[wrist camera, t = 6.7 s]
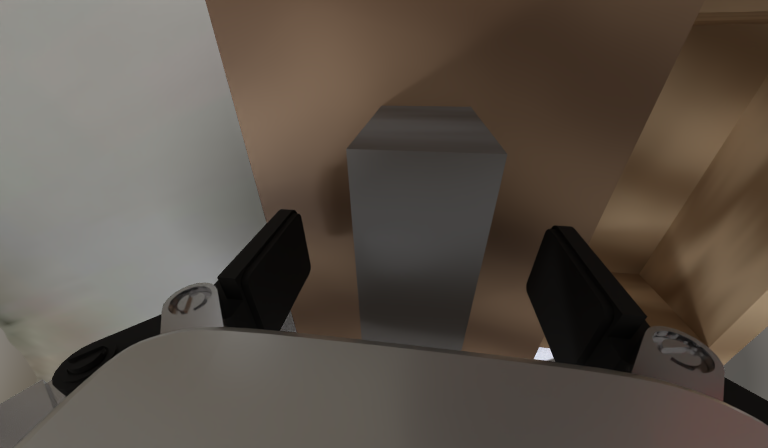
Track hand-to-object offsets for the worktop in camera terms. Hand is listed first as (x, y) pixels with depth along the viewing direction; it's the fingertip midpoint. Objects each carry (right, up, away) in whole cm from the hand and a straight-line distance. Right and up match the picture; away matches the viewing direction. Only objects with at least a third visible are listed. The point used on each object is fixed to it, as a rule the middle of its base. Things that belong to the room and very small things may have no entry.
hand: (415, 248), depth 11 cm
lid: (0, +1, +2) cm, 3 cm away
